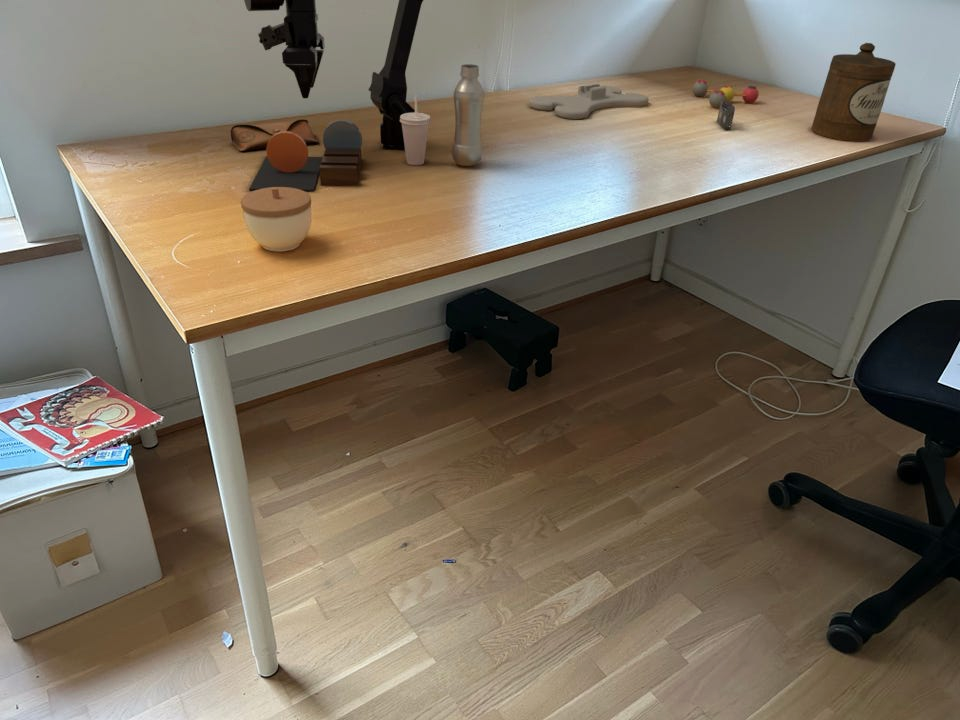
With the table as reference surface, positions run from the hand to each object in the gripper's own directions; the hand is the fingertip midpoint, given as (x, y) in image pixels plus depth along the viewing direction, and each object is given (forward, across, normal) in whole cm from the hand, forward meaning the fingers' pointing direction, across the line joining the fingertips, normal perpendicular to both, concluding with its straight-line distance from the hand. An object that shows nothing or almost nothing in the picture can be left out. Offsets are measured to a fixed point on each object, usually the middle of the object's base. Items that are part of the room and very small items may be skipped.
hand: (308, 92), depth 151 cm
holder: (+13, -49, +71) cm, 87 cm away
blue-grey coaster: (+8, +6, +7) cm, 12 cm away
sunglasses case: (+13, -8, -9) cm, 18 cm away
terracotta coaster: (+9, +12, -3) cm, 15 cm away
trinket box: (+13, +47, 0) cm, 49 cm away
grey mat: (+13, +12, -4) cm, 18 cm away
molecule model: (+13, -56, +114) cm, 128 cm away
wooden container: (+13, -25, +133) cm, 136 cm away
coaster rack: (+13, +11, +7) cm, 18 cm away
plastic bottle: (+13, +5, +33) cm, 36 cm away
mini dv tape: (+13, -30, +103) cm, 108 cm away
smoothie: (+13, +4, +22) cm, 26 cm away
